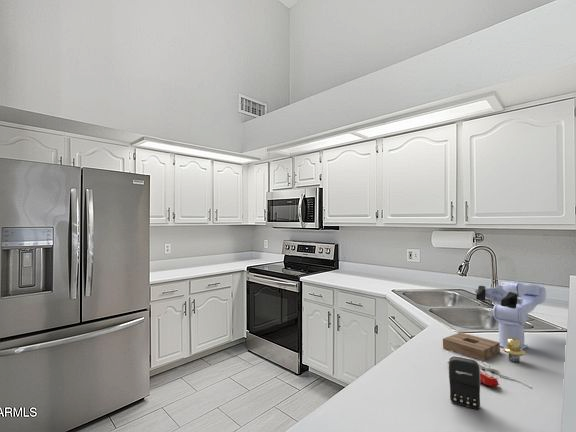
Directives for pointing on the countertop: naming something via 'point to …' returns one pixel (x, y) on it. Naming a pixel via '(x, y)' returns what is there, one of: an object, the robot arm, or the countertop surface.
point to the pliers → (491, 369)
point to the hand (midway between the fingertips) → (489, 299)
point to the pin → (514, 350)
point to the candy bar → (487, 379)
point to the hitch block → (471, 346)
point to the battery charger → (464, 381)
